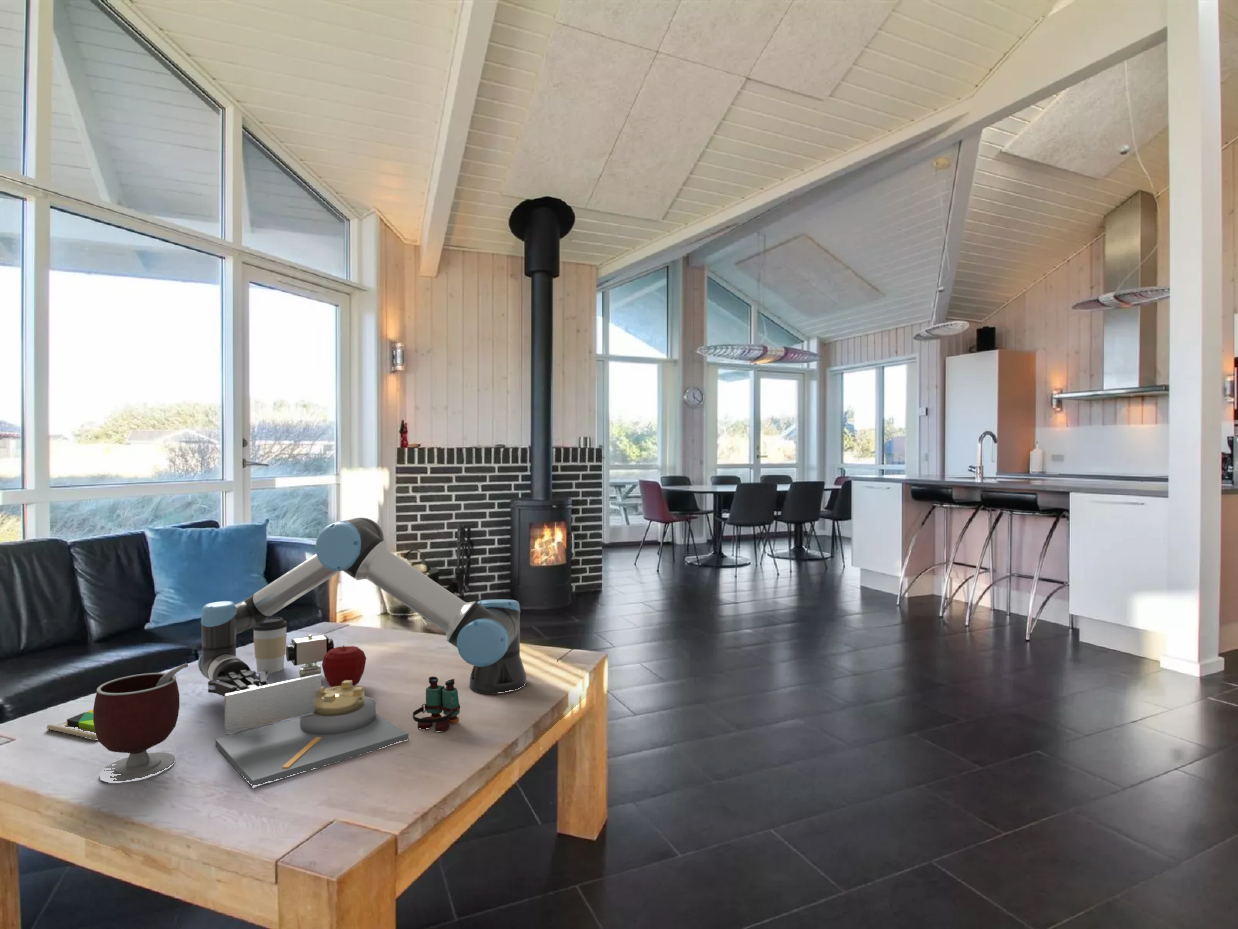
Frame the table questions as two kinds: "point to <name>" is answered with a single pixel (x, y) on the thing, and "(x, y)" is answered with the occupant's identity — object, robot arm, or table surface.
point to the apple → (343, 665)
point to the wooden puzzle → (78, 725)
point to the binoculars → (439, 706)
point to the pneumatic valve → (308, 653)
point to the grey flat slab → (307, 743)
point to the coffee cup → (270, 644)
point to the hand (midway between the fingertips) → (259, 698)
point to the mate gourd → (137, 720)
